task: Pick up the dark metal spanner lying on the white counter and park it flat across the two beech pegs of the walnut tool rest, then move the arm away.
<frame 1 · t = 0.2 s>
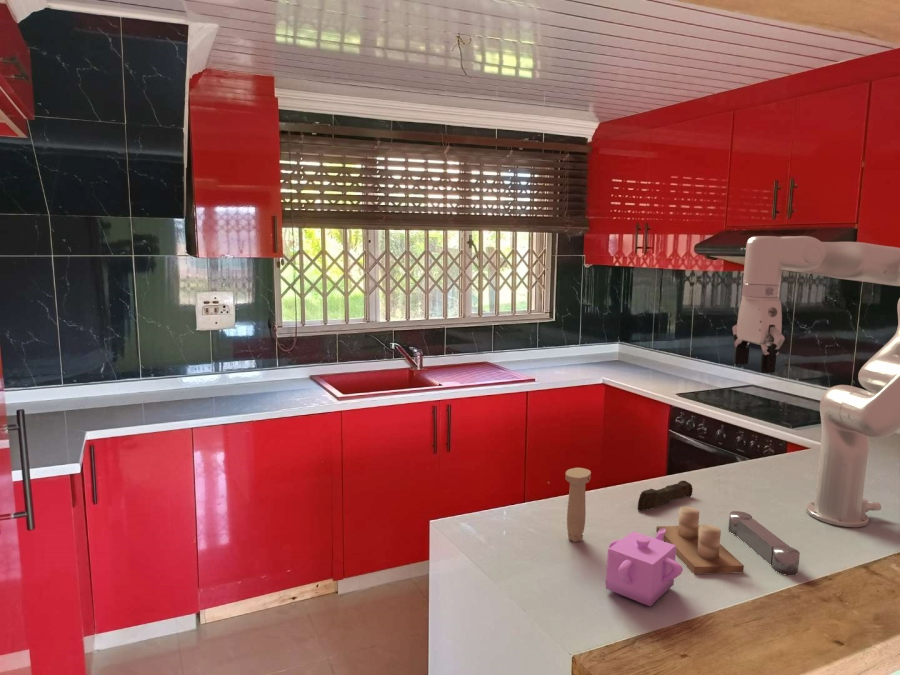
hand: (753, 368, 143), 36 cm above the counter, tool pointing down, fingers open, 9 cm apart
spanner: (760, 549, 134), on the counter
teapot: (644, 591, 117), on the counter
dark brown lumpy bar: (664, 504, 158), on the counter
handle: (575, 540, 137), on the counter
tool rest: (696, 551, 133), on the counter
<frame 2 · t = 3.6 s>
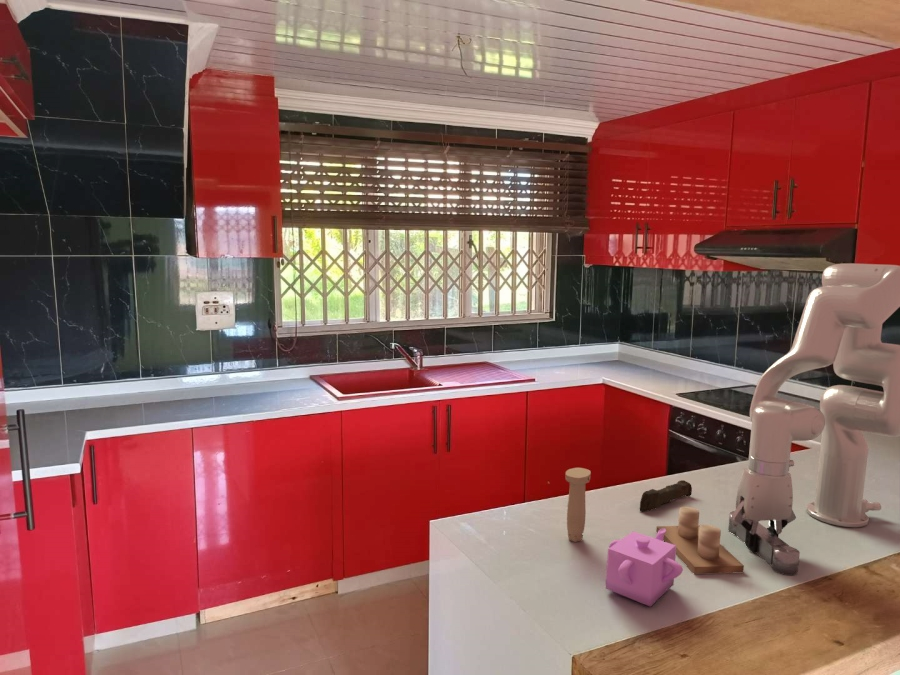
hand: (760, 548, 134), 0 cm above the counter, tool pointing down, fingers closed on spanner, 3 cm apart
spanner: (760, 549, 134), on the counter, touching gripper
everything else where it was.
when the fingers open (8 cm above the counter, at t = 7.8 s): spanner stays where it is, resting on tool rest.
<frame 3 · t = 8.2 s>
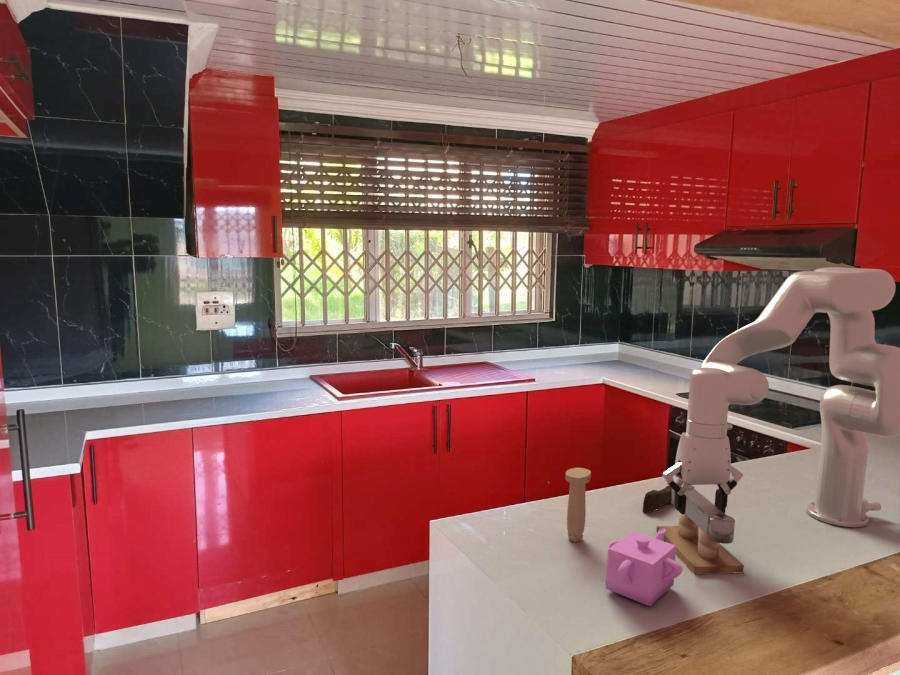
hand: (700, 510, 131), 9 cm above the counter, tool pointing down, fingers open, 8 cm apart
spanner: (700, 519, 131), point 7 cm above the counter, touching tool rest
everything else where it was.
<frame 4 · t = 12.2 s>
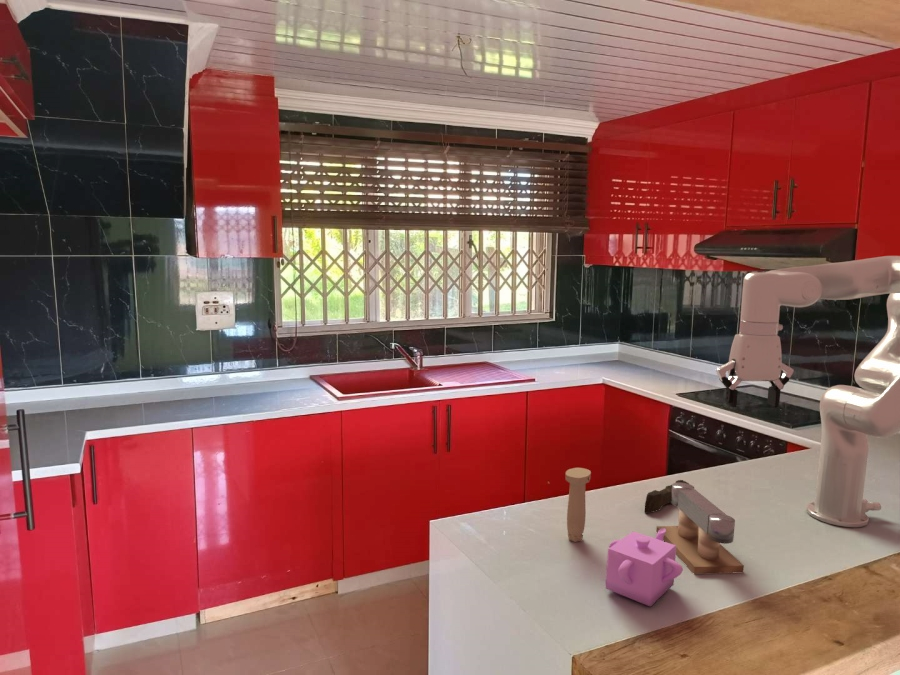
hand: (751, 405, 141), 28 cm above the counter, tool pointing down, fingers open, 9 cm apart
nothing on the counter moved.
at the end: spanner 0.1 cm off-centre on the tool rest, point 7.0 cm above the tool rest's base; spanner tilted 0°; the gripper is holding nothing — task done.
